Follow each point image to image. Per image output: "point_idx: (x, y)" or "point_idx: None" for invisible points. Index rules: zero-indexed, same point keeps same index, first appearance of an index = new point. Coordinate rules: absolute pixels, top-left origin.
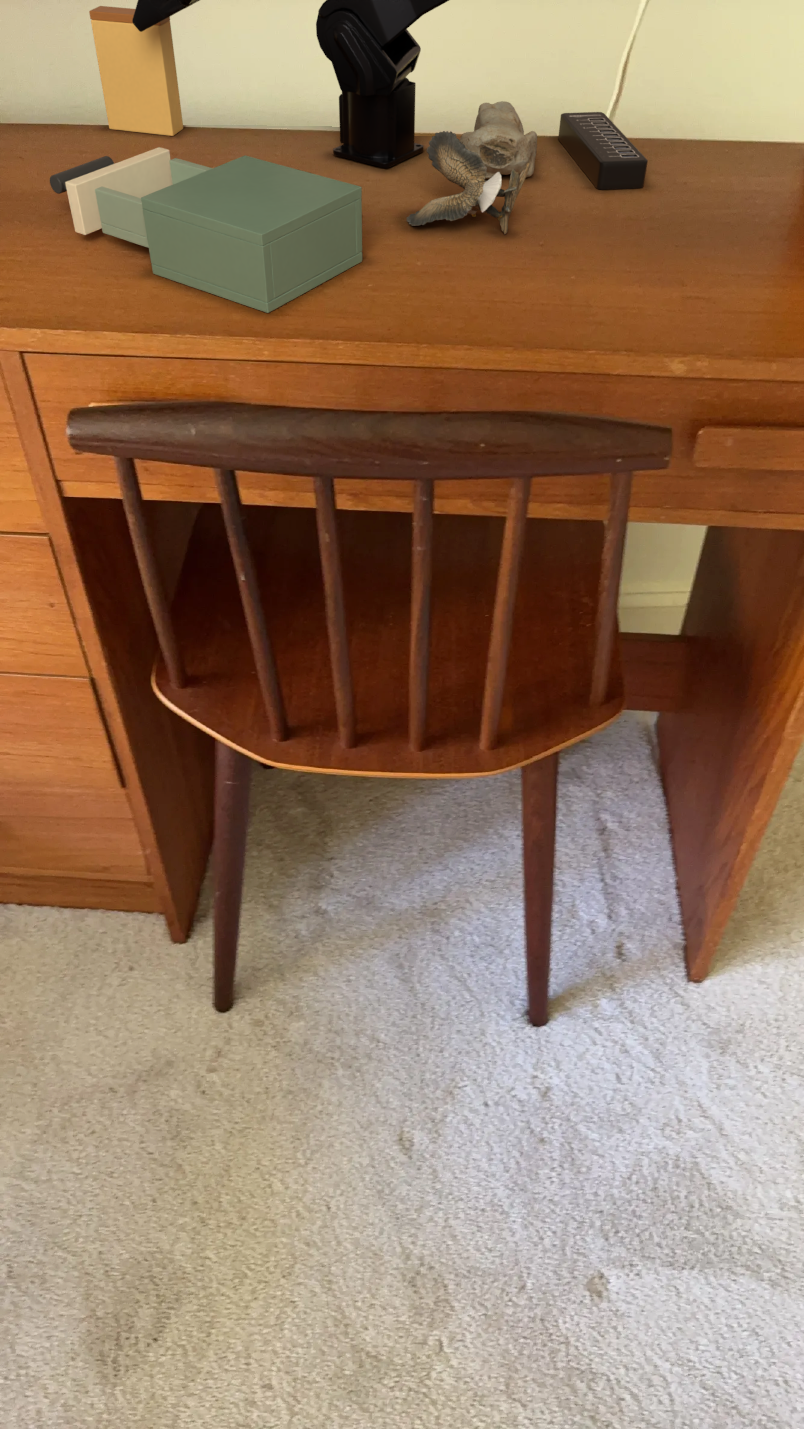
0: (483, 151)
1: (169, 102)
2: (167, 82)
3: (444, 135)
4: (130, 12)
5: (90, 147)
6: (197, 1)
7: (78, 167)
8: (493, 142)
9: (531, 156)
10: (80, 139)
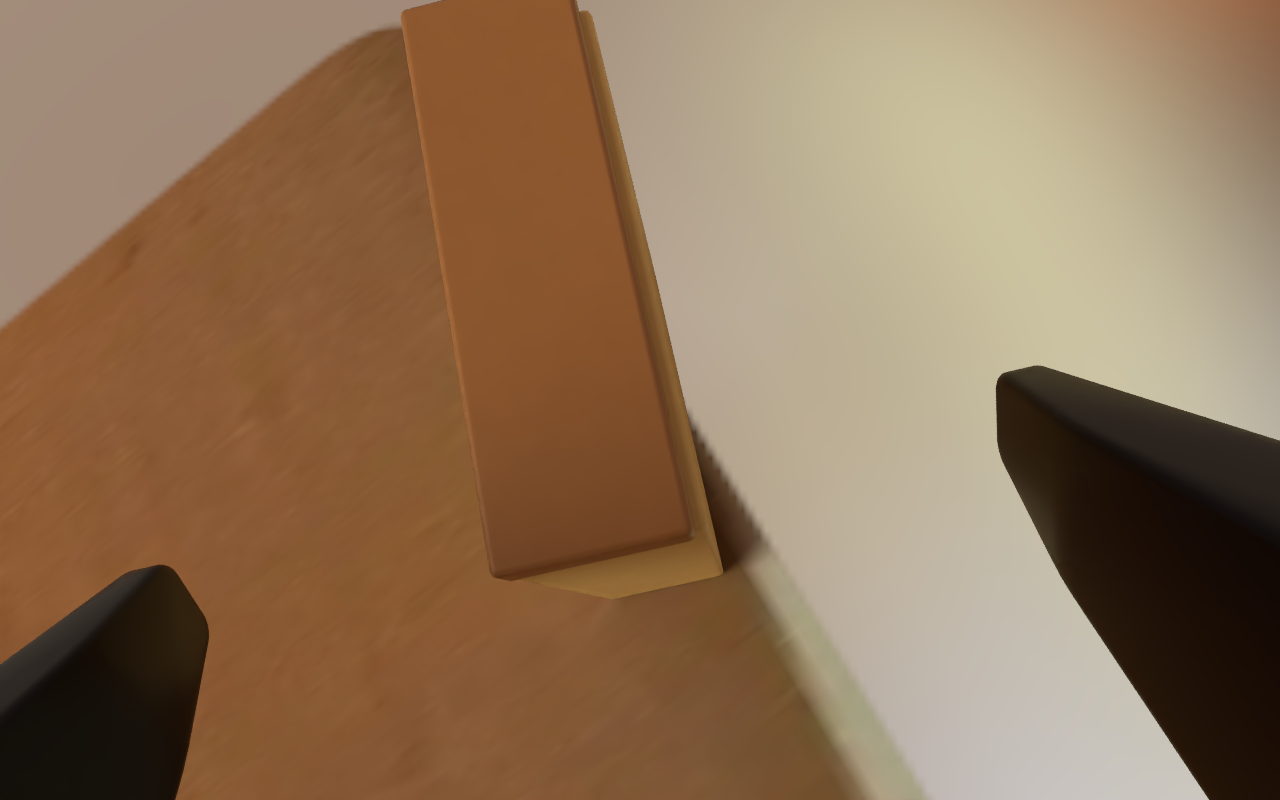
0: None
1: (593, 593)
2: (585, 588)
3: None
4: (499, 283)
5: (333, 385)
6: (1076, 596)
7: None
8: None
9: None
10: (395, 288)
